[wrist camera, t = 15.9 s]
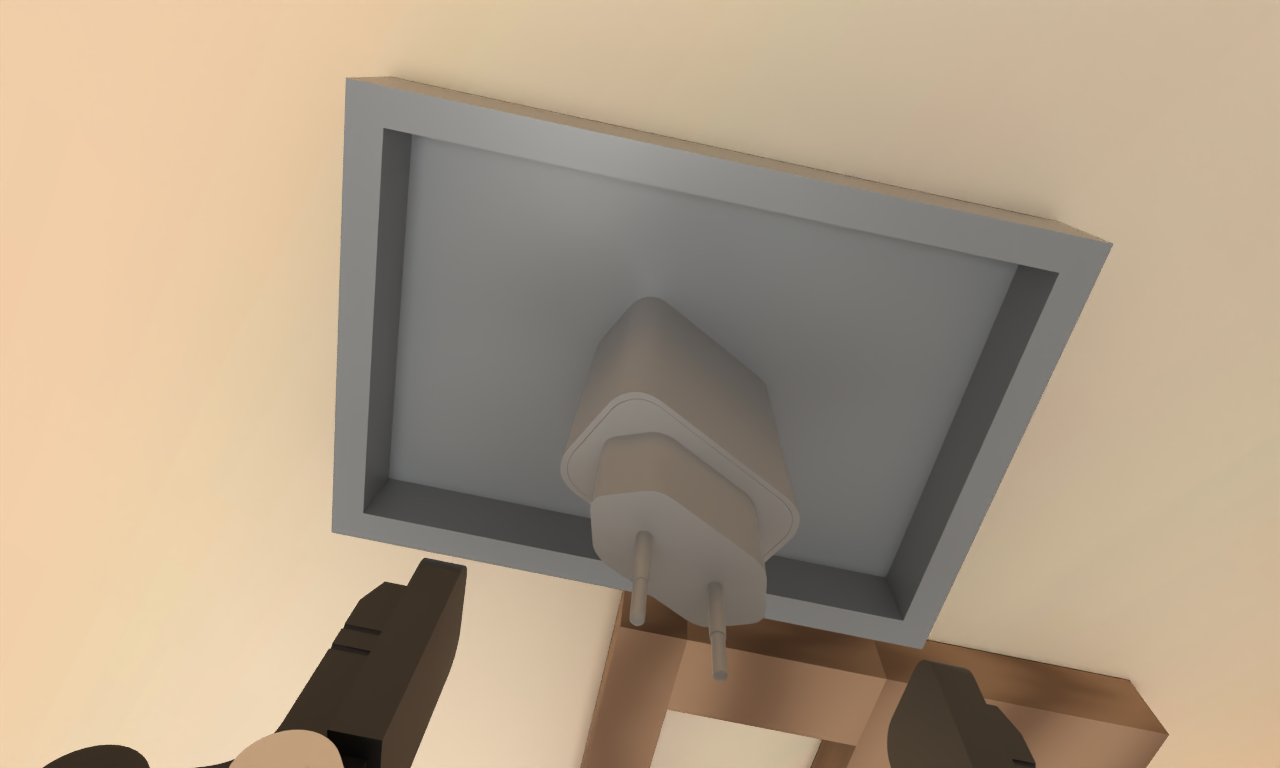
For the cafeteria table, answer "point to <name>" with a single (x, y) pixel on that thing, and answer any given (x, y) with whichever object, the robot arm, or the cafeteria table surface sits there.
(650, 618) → the dock board
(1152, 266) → the cafeteria table surface
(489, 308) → the tray
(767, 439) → the power adapter
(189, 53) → the cafeteria table surface
